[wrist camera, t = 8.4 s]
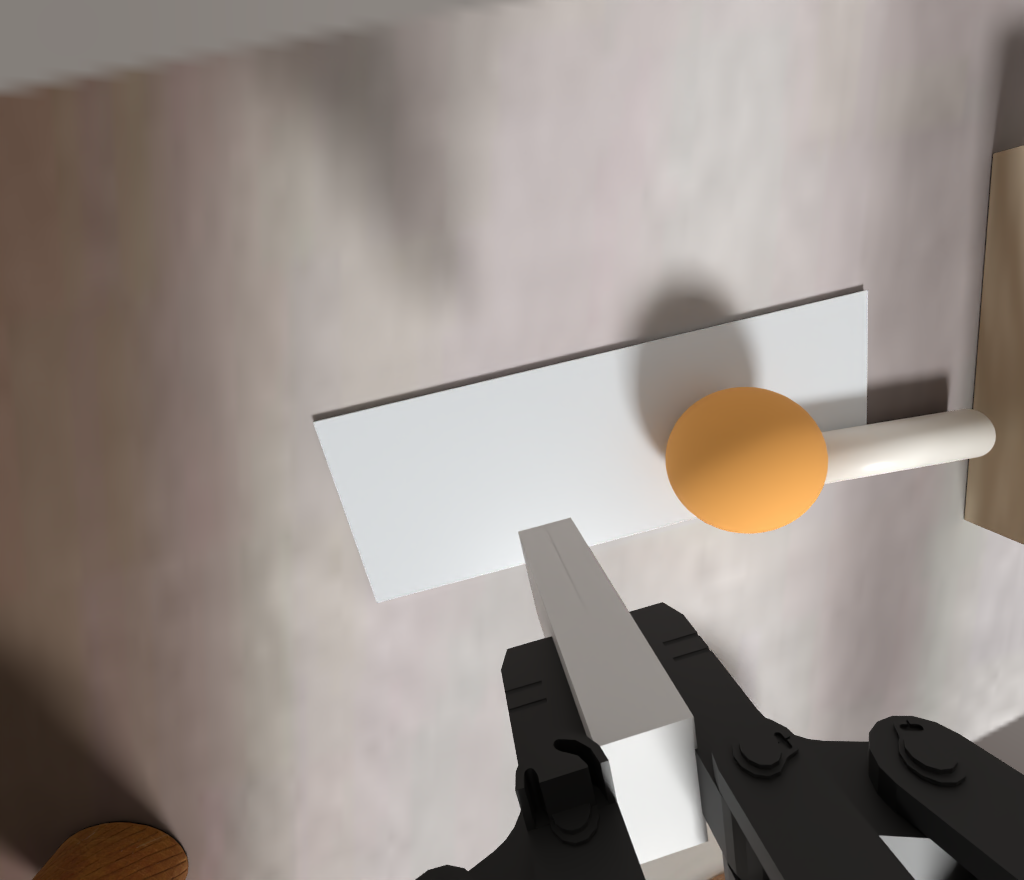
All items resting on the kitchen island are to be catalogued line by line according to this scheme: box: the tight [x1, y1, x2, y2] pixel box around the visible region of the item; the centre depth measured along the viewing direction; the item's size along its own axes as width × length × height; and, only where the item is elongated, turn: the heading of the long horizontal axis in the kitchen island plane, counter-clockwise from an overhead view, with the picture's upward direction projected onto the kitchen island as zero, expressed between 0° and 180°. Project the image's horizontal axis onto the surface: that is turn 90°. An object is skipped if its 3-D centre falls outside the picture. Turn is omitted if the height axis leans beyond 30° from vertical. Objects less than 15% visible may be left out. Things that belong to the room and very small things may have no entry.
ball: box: [666, 387, 828, 533], centre depth 20 cm, size 6×6×6 cm
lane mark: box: [313, 290, 868, 603], centre depth 22 cm, size 25×9×1 cm, turn 102°
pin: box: [822, 409, 996, 484], centre depth 23 cm, size 2×2×8 cm
